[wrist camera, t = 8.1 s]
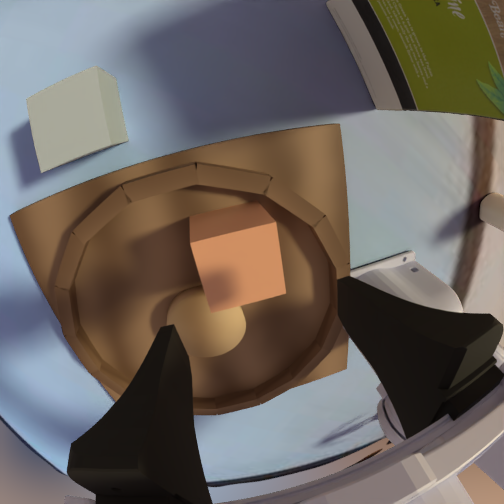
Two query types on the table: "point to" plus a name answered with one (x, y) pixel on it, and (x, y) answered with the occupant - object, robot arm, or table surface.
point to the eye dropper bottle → (493, 210)
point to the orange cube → (237, 255)
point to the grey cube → (76, 118)
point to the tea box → (428, 53)
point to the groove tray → (185, 270)
